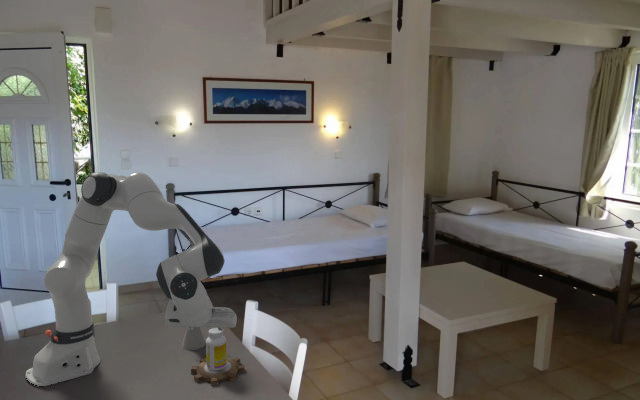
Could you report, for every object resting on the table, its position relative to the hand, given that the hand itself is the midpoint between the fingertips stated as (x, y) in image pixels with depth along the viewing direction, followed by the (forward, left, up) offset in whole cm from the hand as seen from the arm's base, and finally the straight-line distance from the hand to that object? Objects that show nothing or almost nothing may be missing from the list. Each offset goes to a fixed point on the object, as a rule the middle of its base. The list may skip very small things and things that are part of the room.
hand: (206, 327), depth 152 cm
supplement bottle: (+9, +8, -20) cm, 23 cm away
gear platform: (+10, +8, -21) cm, 25 cm away
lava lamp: (+16, +31, -21) cm, 41 cm away
